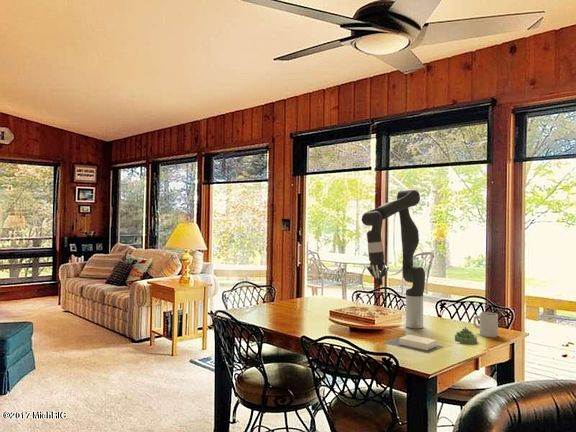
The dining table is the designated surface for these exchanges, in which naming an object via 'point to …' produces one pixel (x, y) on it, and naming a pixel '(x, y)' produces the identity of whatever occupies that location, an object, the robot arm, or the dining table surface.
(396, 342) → the mat
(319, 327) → the dining table surface
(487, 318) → the mug
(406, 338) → the orange white box
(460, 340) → the decorative artifact
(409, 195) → the robot arm
